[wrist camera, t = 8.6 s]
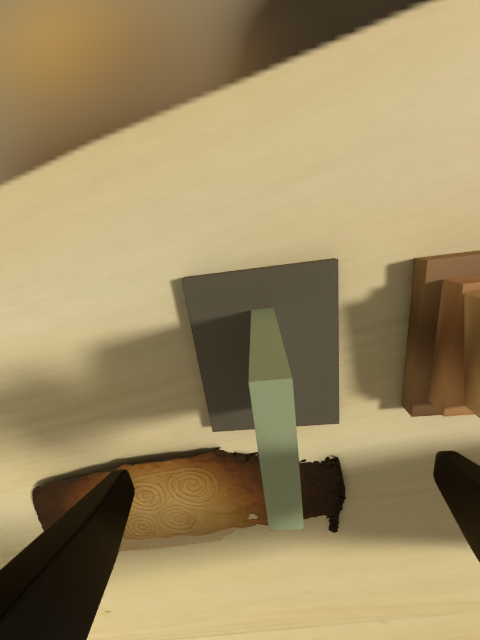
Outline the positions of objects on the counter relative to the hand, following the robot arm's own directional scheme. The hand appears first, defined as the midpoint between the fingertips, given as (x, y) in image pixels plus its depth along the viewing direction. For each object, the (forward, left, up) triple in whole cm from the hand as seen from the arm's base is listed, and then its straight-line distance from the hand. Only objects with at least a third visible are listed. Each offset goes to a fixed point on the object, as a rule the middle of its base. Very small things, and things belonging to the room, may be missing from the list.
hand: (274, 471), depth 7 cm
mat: (0, 0, -8) cm, 8 cm away
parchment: (-12, +8, -8) cm, 17 cm away
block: (0, 0, -7) cm, 7 cm away
